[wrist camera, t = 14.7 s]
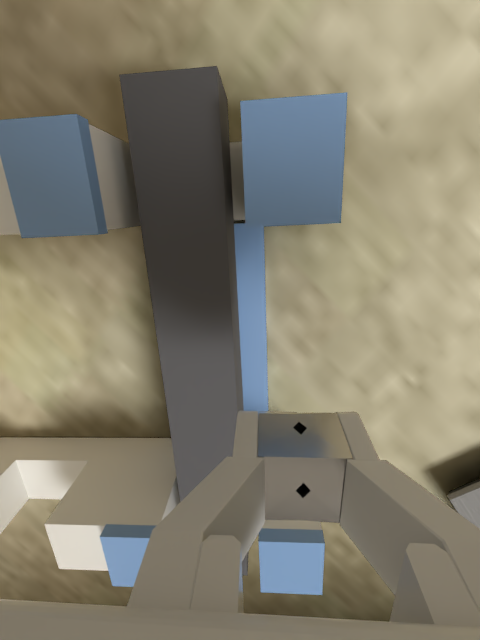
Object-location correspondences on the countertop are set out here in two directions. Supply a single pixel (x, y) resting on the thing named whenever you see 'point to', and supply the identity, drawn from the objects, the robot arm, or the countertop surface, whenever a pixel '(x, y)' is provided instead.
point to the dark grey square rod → (189, 257)
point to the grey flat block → (467, 501)
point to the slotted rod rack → (258, 212)
